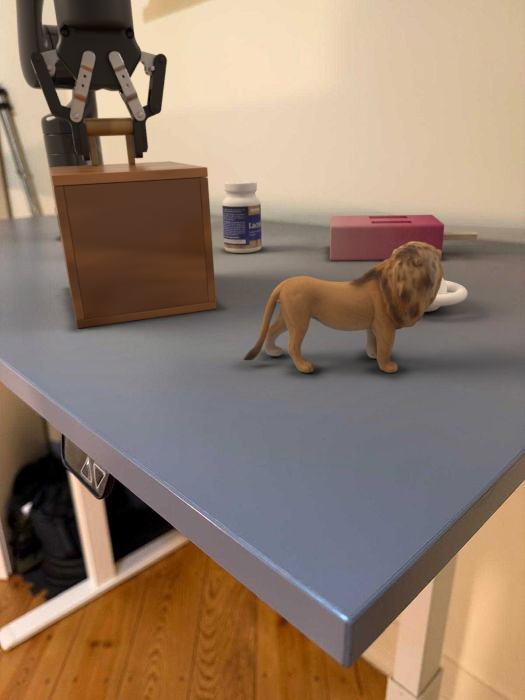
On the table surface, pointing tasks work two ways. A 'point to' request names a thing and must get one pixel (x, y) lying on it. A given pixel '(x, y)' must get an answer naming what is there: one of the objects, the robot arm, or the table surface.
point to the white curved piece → (448, 295)
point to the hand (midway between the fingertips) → (112, 158)
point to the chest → (136, 249)
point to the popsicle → (385, 235)
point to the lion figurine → (356, 304)
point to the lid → (119, 171)
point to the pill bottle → (241, 217)
